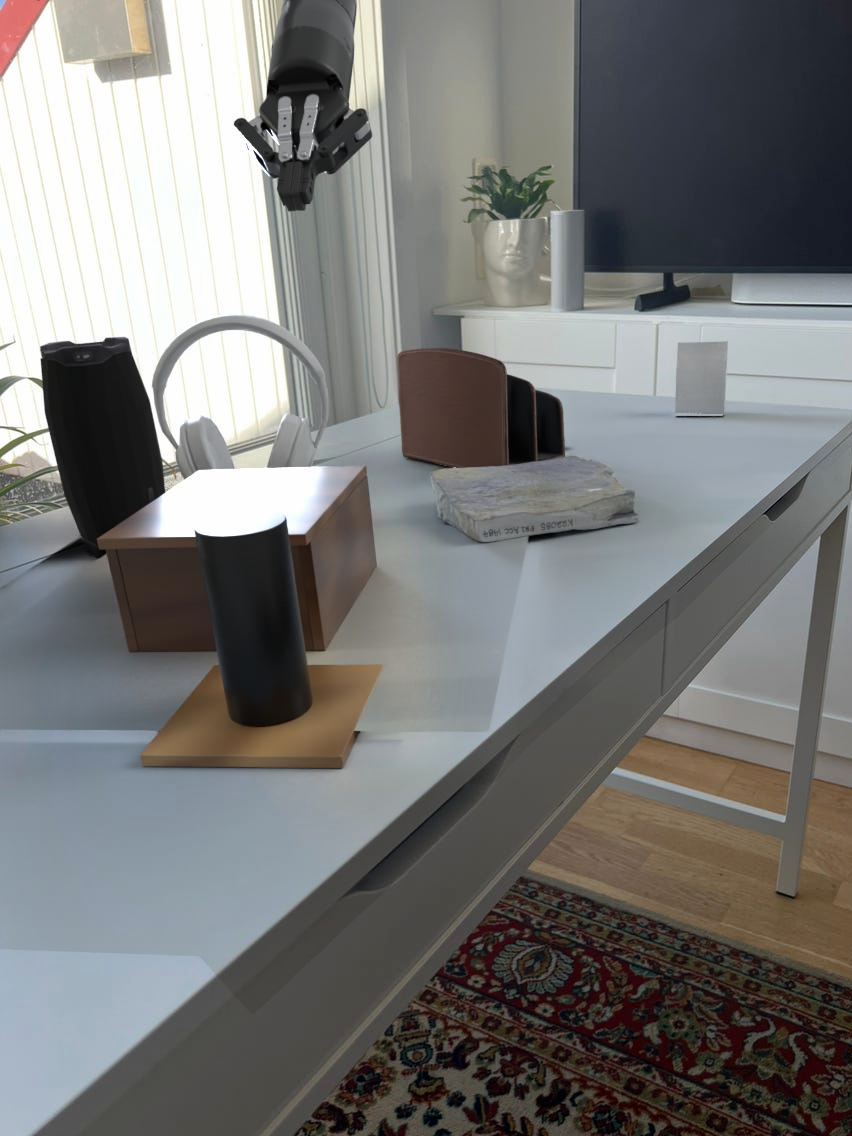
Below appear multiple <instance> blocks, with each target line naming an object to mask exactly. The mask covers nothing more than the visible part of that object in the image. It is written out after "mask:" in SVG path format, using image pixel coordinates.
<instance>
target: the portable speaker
mask: <svg viewBox="0 0 852 1136" xmlns="http://www.w3.org/2000/svg"><path fill="white" fill-rule="evenodd" d="M39 350H40V355H41V357H40V370H41V383H42V395H43V407H44V415H45V421H46V424H47V428H48V432H49V437H50V441H51V446H52V449H53V453H54V457H55V462H56V466H57V470H58V475H59V480H60V484H61V488H62V491H63V494H64V495H63V497H64V499H65V500H66V503H67V506H68V508H69V511H70V512H71V515H72V518H73V520H74V523H75V525H76V527H77V530H78V532H79V535H80V538H81V539H83V542H84V546H85V551H86V554H88V555H90V556H92V557H94V558H101V557H104V556H105V553H106V549H104V550H100V549H99V546H98V542H97V539H98V538H99V537H100V536H102V535H103V534H105V533H106V532H108V531H109V530H111V529H112V528H114V527H115V526H117V525H118V524H120V523H121V522H123V521H124V520H126V519H127V518H129V517H130V516H132V515H133V514H135V513H136V512H138V511H139V510H141V509H142V508H144V507H145V506H147V505H148V504H150V503H151V502H153V501H154V500H156V499H157V498H159V497H160V496H161V495H163V494H164V493H166V485H165V473H164V462H163V457H162V454H161V448H160V443H159V438H158V433H157V429H156V424H155V423H156V422H155V419H154V414H153V410H152V405H151V404H152V403H151V400H150V396H149V394H148V392H147V389H146V386H145V384H144V381H143V379H142V376H141V374H140V371H139V368H138V365H137V363H136V361H135V358H134V355H133V352H132V348H131V343H130V338H128V337H126V336H115V337H114V336H113V337H110V336H109V337H105V338H104V339H103V341H94V342H93V341H92V342H84V343H75V342H73V341H70V340H63V341H54V342H53V341H52V342H47V343H45V344H43V345H40V346H39Z"/></svg>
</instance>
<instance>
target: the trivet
mask: <svg viewBox="0 0 852 1136" xmlns="http://www.w3.org/2000/svg"><path fill="white" fill-rule="evenodd" d="M384 666H385V664H381V663H380V664H308V671H309V678H310V685H311V692H312V699H313V702H312V706H311V707H310V709H309V710H308V711H307V712H306V713H305V714H303V715H302V716H300V717H298V718H296V719H294V720H292V721H289V722H286V723H283V724H279V725H274V726H267V727H250V726H244V725H240V724H238V723H236V722H234V721H233V720H232V719H231V718H230V717H229V714H228V709H227V703H226V698H225V692H224V687H223V682H222V676H221V671H220V666H219V664H215V665H213V666H212V667H211V669H210V670H209V671H208V672H207V674H206V675H205V676H204V677H203V679H201V681H199V683H198V684H197V685H196V687H195V688H194V689H193V691H191V692H190V694H189V695H188V696H187V698H186V699H185V700H184V702H182V704H181V705H180V706H179V707H178V709H177V710H176V711H174V713H173V715H171V717H170V718H169V719H168V720H167V722H165V724H164V725H163V727H162V728H161V729H160V730H159V731H158V732H157V734H156V735H155V736H154V737H153V739H152V740H151V741H150V742H149V743H148V744H147V746H146V747H145V748H144V750H142V752H141V753H140V754H139V756H140V763H141V766H142V767H170V768H171V767H177V768H178V767H180V768H181V767H183V768H185V767H187V768H188V767H189V768H191V767H192V768H278V769H279V768H281V769H282V768H287V769H289V768H290V769H293V768H294V769H343V768H344V766H345V765H346V763H347V760H348V758H349V756H350V754H351V751H352V749H353V747H354V744H355V743H356V740H357V738H358V736H359V733H360V730H355V729H356V727H357V725H358V723H359V720H360V718H361V716H362V714H363V712H364V710H365V707H366V705H367V703H368V701H369V699H370V697H371V694H372V692H373V691H374V688H375V686H376V684H377V682H378V680H379V677H380V675H381V673H382V670H383V668H384Z"/></svg>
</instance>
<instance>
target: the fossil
mask: <svg viewBox="0 0 852 1136" xmlns="http://www.w3.org/2000/svg"><path fill="white" fill-rule="evenodd" d="M613 473H614V470H613V469H612V468H611V467H609V466H607V465H606V464H603V463H601V462H600V461H595V460H592V459H587V458H582V457H578V456H577V455H567V456H565V457H561V458H557V459H551V460H544V461H538V462H528V463H522V464H514V465H506V466H486V467H467V468H451V467H447V468H440V469H436V470H432V471H430V474H429V477H430V482H431V485H432V490H433V494H434V495H435V504H436V511H437V512H438V518H439V519H440V520H441V521H443V522H445V523H446V524H449V525H450V526H451V527H454V528H455V529H456V530H458V531H459V532H461V533H464V534H465V535H466V536H467V537H469V538H471V539H472V540H475V541H476V542H480V543H492V542H501V541H506V540H511V539H516V538H524V537H529V536H530V537H531V536H537V535H544V534H553V533H562V532H567V531H572V530H576V531H588V530H597V529H601V528H609V527H613V526H618V525H629V524H635V523H637V522H639V518H640V514H638V513H636V512H635V498H636V491H635V490H634V489H629V488H625V487H623V486H621V485H620V484H619V480H618V479H617V478H616V477H615V476H613Z"/></svg>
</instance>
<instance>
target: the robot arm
mask: <svg viewBox="0 0 852 1136" xmlns="http://www.w3.org/2000/svg"><path fill="white" fill-rule="evenodd" d="M357 9H358V0H282V4H281V9H280V10H281V11H280V16H279V18H278V20H277V24H276V26H275V31H274V36H273V41H272V44H271V48H270V49H271V52H270V62H269V67H268V68H269V69H268V74H267V80H266V95H265V98H264V100H263V102H262V103H261V104H260V106H259V108H258V115H257V116H255V117H254V118H252V119H251V120H249V121H248V120H247V119H246V118H244V117H239V118H236V119H235V120H234V122H233V127H234V128H235V131H236V133H237V136H238V138H239V141H240V144H241V145H242V147H243V149H244V150H245V151H246V153H247V154H248V155H249V156H250V158H252V159H253V161H255V163H256V164H257V165H258V166H259V167H260V168H261V169H262V170H263V171H264V172H265V174H266V175H267V176H268V177H269V178H270V179H273V180H274V179H277V185H276V191H277V194H278V197H279V200H280V202H281V203H282V204H281V205H282V206H283V207H286V210H287V211H288V213H289V212H303V211H304V212H305V211H306V207H307V205H310V204H311V203H312V201H313V199H314V191H315V184H316V183H315V182H316V180H317V178H318V176H319V175H320V174H322V173H325V174H326V175H334V174H335V173H336V172H338V171H339V170H340V169H341V168H342V167H343V166H344V165H345V164H346V163H347V162H348V161H349V160H350V159H351V158H352V157H353V156H355V155H356V154H357V153H358V152H359V151H360V150H361V149H362V148H363V147H364V146H365V145H366V144H367V143H368V142H369V141H370V140H371V139H372V138H373V131H372V128H371V124H370V120H369V117H368V112H367V109H365V108H357V109H355V110H353V109H351V108H350V95H351V87H352V86H351V85H352V76H353V69H354V61H355V30H356V19H357ZM266 131H267V133H268V134H269V135H270V136H271V138H272V139H273V140H274V141H275V142H276V143H277V145H278V152H277V151H274V148H273V147H272V146H271V145H270V144H269V142H267V141H266V136H265V132H266ZM337 148H338V149H337ZM336 149H337V151H336V152H334V151H335V150H336Z"/></svg>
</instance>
